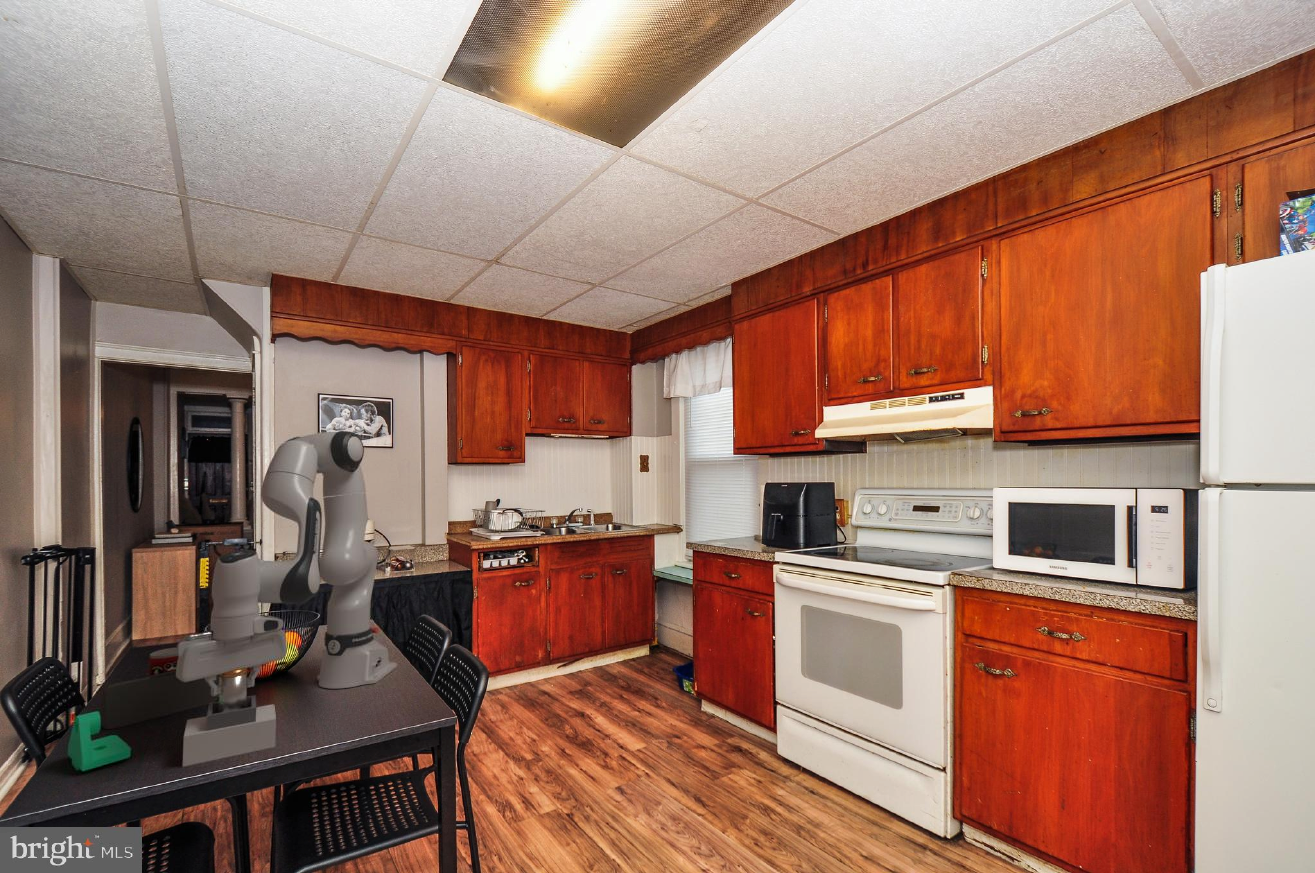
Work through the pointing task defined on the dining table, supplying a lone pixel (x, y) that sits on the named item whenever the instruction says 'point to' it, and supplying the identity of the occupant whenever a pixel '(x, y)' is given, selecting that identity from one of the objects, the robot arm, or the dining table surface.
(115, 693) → the handheld gaming console
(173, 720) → the dining table surface
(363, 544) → the robot arm
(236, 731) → the grey pedestal block
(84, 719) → the camera mount
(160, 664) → the canned food
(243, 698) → the glass jar
